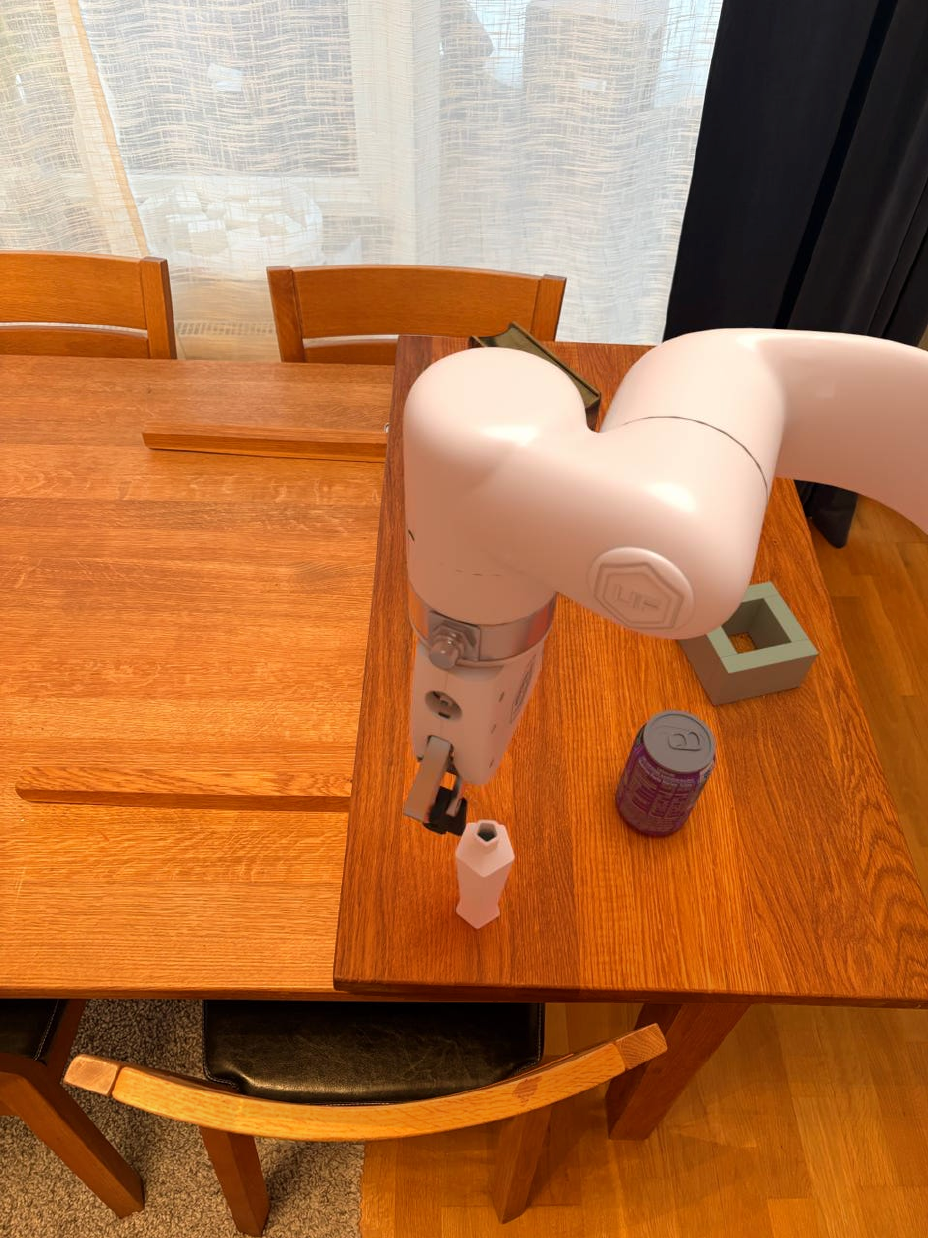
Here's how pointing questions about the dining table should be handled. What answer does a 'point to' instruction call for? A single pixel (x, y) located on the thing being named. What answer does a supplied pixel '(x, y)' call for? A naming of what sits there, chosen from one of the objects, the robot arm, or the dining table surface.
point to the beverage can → (666, 772)
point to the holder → (758, 671)
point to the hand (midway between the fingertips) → (470, 761)
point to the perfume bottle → (482, 870)
